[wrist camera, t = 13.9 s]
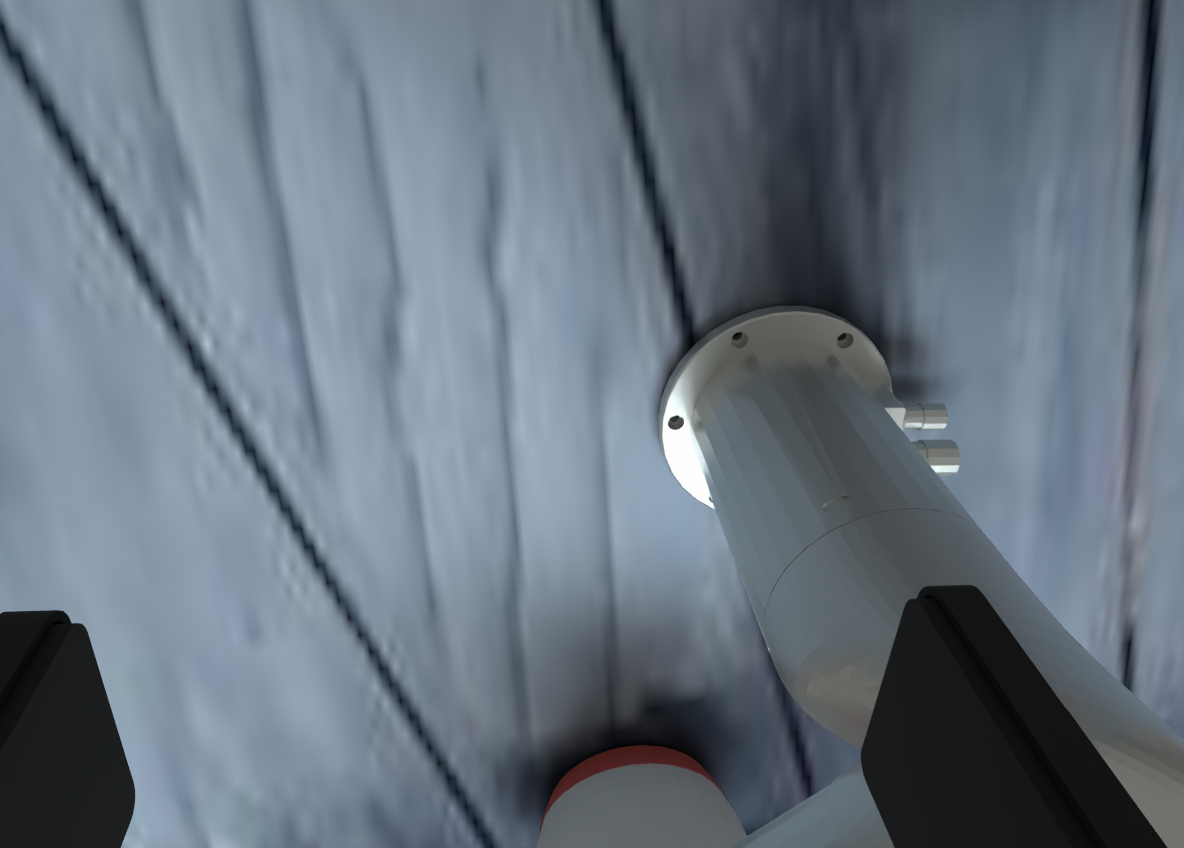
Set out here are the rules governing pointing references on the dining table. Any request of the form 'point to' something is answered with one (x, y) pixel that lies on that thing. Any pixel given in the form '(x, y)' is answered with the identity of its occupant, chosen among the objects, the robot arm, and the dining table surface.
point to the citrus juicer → (639, 804)
